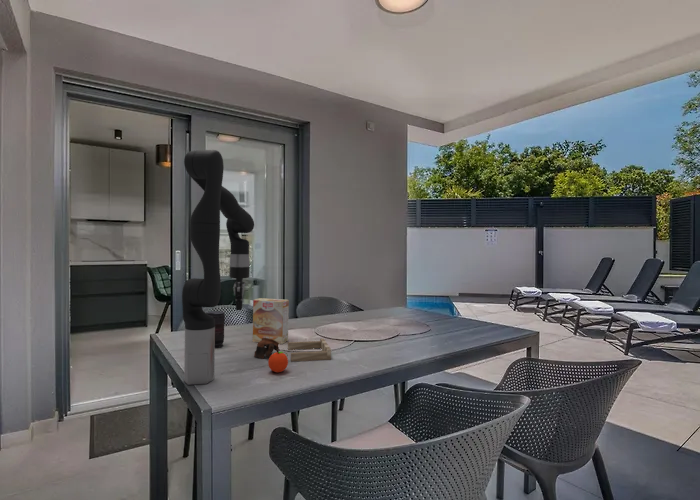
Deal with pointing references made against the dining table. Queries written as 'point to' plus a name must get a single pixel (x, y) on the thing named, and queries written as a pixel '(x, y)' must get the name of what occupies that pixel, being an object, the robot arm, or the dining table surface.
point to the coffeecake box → (270, 319)
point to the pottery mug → (266, 348)
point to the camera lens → (218, 326)
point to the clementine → (278, 361)
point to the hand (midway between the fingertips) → (239, 309)
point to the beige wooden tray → (310, 356)
